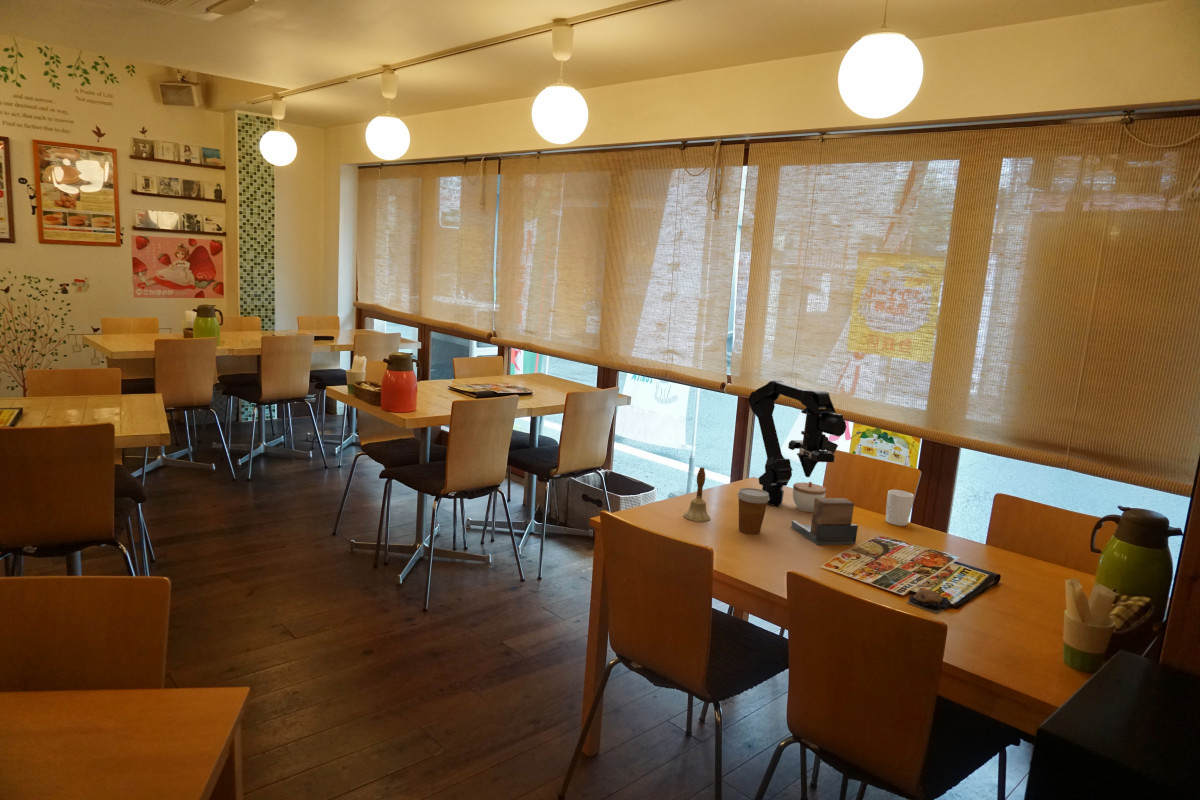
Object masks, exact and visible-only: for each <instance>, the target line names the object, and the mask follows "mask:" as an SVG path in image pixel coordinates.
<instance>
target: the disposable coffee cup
mask: <svg viewBox="0 0 1200 800" xmlns="http://www.w3.org/2000/svg"><path fill="white" fill-rule="evenodd" d="M737 498H738V531H740V532H741V533H745V534H748V535H758V534H760V533H761V529H762V525H763V523H764V518H765V514H766V510H767V507H768V504H767V503H768V501H769V500H770V498H769V494H768V492H766V491H763V490H762V489H761V488H760V489H758V488H753V487H743V488H740V489H739V491H738V493H737Z"/></svg>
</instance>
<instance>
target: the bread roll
mask: <svg viewBox="0 0 1200 800" xmlns="http://www.w3.org/2000/svg"><path fill="white" fill-rule="evenodd" d="M906 604H907V605H910V606H913V607H916V608H918V609H921V610H924V611H925V612H929V613H930V614H931V613H932V614H934V615H937V614H939V613H943V611H945V610H947V609H948V608H950V607H951V604H952V603H951V600H949V597H946V596H942V595H940V593H938V592H936V591H935V590H931V589H927V588H924V589H923V588H922V589H920V590H919V591H917V592H916V593H915V594H913V595H910V596H909V599H908V601H907V602H906Z"/></svg>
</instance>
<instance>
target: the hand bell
mask: <svg viewBox="0 0 1200 800" xmlns="http://www.w3.org/2000/svg"><path fill="white" fill-rule="evenodd" d="M696 474H697V476H696V485H697V491H696V498H693V499H691V502H690V506H689V508H687V509H688V510H687V511H686V512H684V513H683V516H682V517H683V518H684V519H686V520H689V521H693V522H696V523H699V522H700V523H704V522H709V521H710V520H711V517H710V515H709V514H708V511H707V502H706V500H704V499H703V489H704V485H705V481H706V470H705V467H699V470H698V472H697V473H696Z"/></svg>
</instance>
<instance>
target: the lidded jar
mask: <svg viewBox="0 0 1200 800" xmlns="http://www.w3.org/2000/svg"><path fill="white" fill-rule="evenodd" d="M792 488H793V489H792V499H793V502H794V504H795V506H796V507H797V509H798V510H800V511H802V512H807V513H808V512H809V513H813V508H814V501H815V498H826V494H827V488H826V487H824V486H822V485H819V484H815V483H813V482H812V481H808V482H795V483H794V484H793V486H792Z"/></svg>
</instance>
